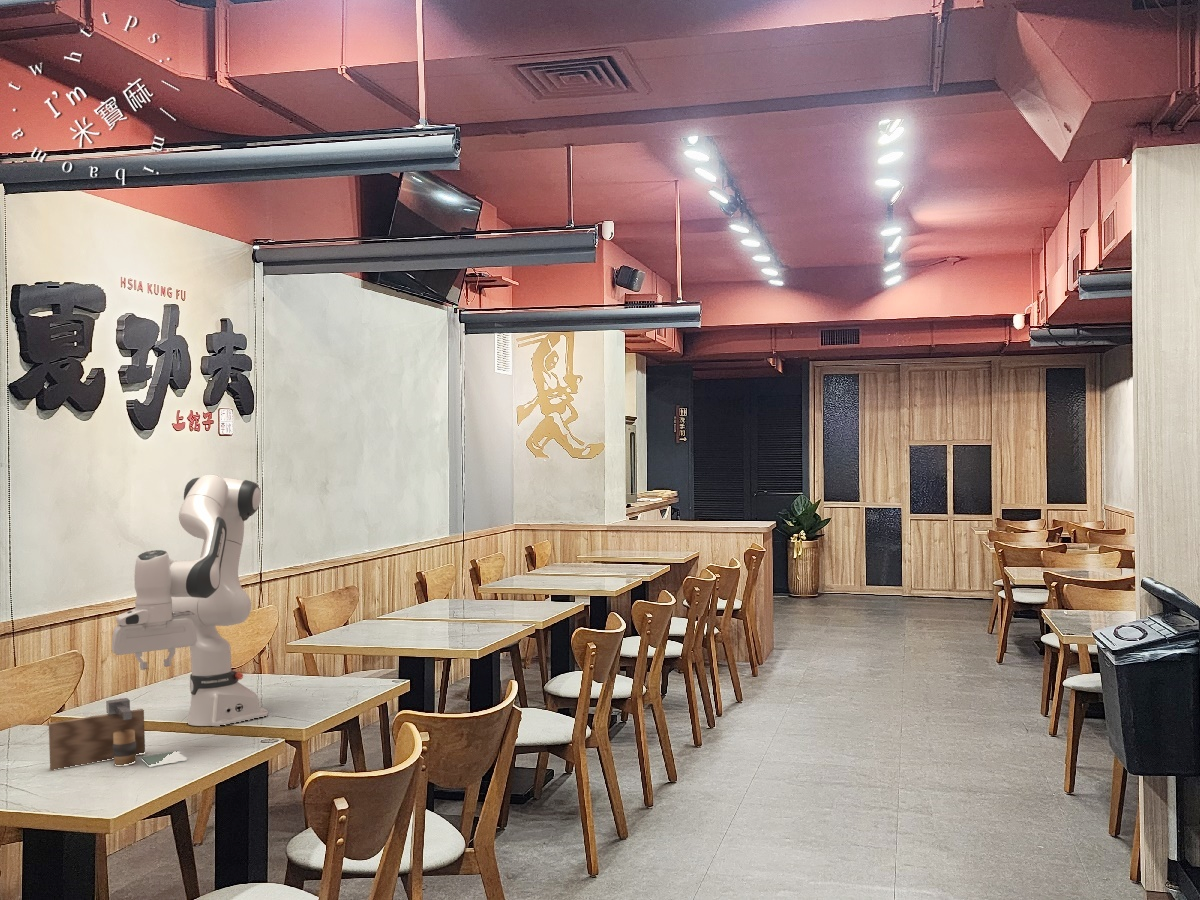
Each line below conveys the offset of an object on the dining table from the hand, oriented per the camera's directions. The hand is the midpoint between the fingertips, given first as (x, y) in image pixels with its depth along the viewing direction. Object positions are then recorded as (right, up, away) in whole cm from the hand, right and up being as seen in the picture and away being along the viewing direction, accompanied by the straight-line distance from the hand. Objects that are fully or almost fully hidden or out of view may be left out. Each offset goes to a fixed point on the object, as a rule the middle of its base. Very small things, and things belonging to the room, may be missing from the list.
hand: (155, 667), depth 273 cm
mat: (+3, -23, -3) cm, 23 cm away
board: (-14, -24, -2) cm, 27 cm away
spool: (-6, -23, -5) cm, 24 cm away
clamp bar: (-7, -12, -3) cm, 14 cm away
